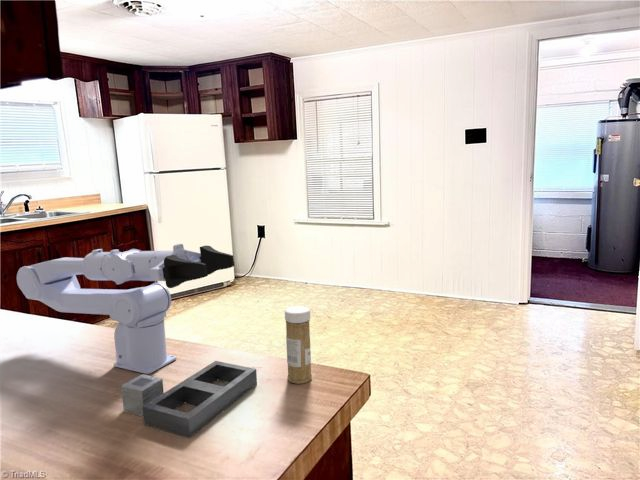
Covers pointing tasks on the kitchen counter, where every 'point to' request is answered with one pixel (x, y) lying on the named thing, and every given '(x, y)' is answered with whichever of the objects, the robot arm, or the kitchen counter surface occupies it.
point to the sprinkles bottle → (298, 344)
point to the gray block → (140, 393)
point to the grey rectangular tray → (199, 398)
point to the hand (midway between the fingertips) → (219, 265)
